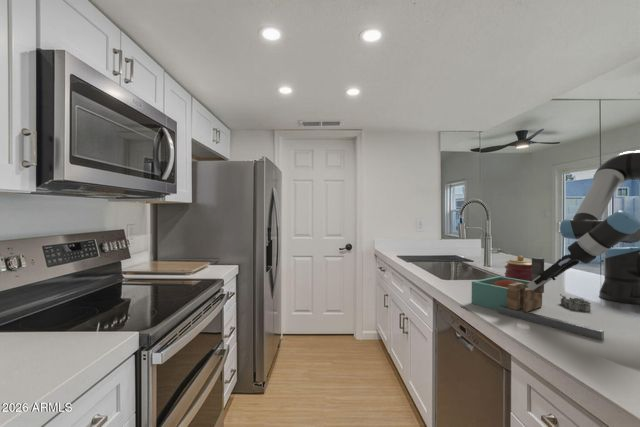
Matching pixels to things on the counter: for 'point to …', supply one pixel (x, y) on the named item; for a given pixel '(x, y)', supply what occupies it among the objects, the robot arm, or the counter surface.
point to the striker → (526, 291)
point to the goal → (491, 292)
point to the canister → (519, 269)
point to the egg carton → (576, 303)
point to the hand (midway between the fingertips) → (532, 286)
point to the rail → (553, 322)
